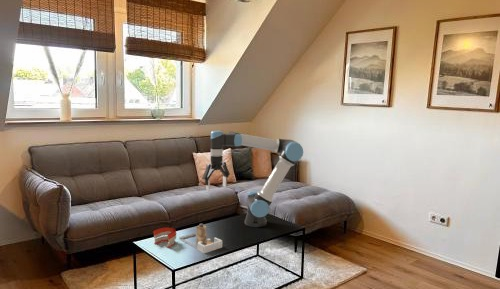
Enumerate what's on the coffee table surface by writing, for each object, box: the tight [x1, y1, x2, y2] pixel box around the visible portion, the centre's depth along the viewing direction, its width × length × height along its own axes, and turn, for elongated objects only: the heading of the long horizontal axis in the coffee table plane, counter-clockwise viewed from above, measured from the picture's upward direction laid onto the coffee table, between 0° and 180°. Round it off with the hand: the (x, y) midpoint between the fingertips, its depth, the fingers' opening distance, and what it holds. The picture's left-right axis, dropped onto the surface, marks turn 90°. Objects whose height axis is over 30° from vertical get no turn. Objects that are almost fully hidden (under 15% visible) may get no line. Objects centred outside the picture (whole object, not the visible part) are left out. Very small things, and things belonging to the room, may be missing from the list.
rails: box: [178, 232, 214, 249], centre depth 220 cm, size 12×20×1 cm, turn 44°
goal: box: [196, 237, 223, 254], centre depth 210 cm, size 13×6×4 cm, turn 134°
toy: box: [153, 226, 177, 249], centre depth 216 cm, size 12×10×8 cm
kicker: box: [196, 223, 212, 246], centre depth 215 cm, size 8×6×12 cm
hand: (216, 188), depth 233 cm, fingers open, 13 cm apart
